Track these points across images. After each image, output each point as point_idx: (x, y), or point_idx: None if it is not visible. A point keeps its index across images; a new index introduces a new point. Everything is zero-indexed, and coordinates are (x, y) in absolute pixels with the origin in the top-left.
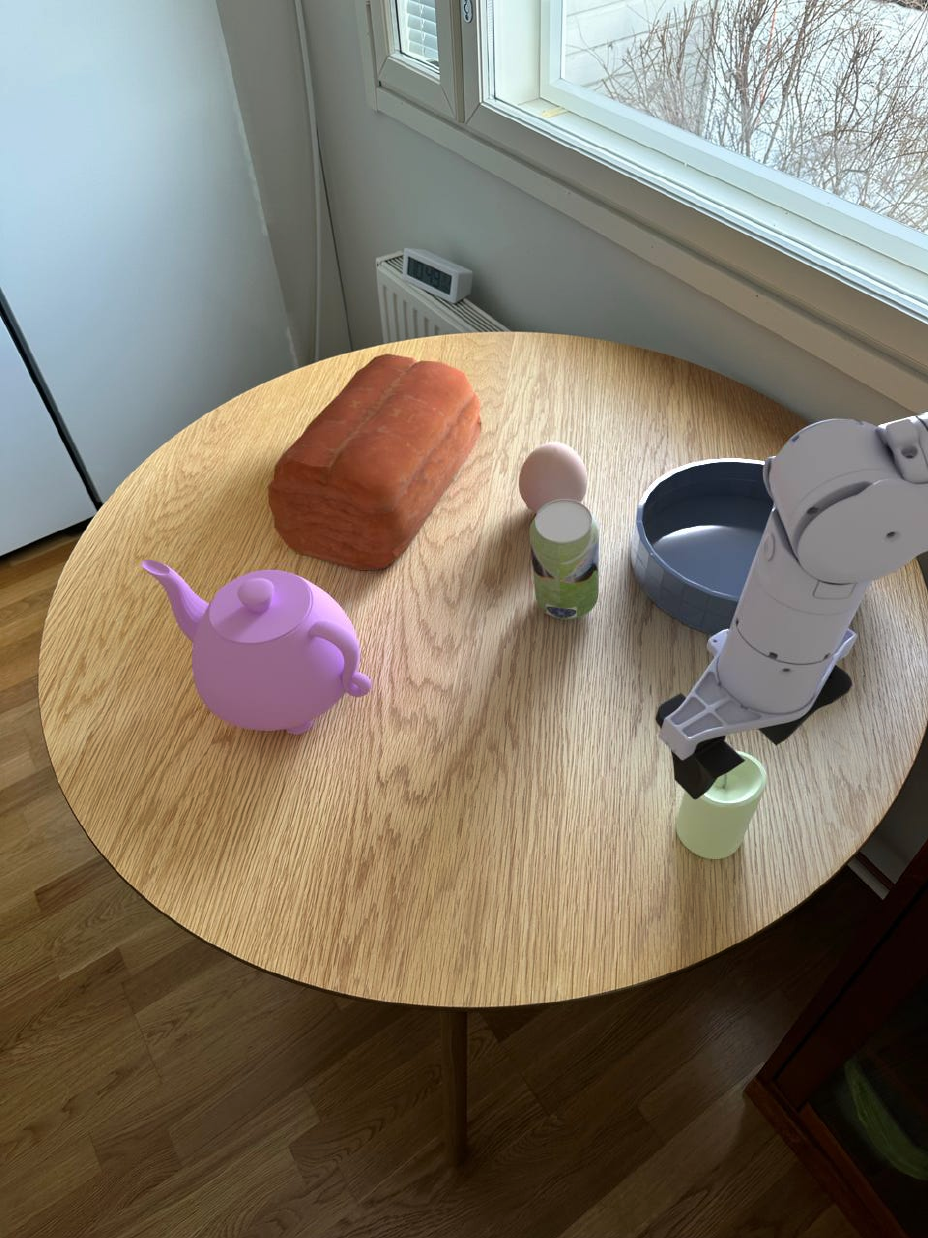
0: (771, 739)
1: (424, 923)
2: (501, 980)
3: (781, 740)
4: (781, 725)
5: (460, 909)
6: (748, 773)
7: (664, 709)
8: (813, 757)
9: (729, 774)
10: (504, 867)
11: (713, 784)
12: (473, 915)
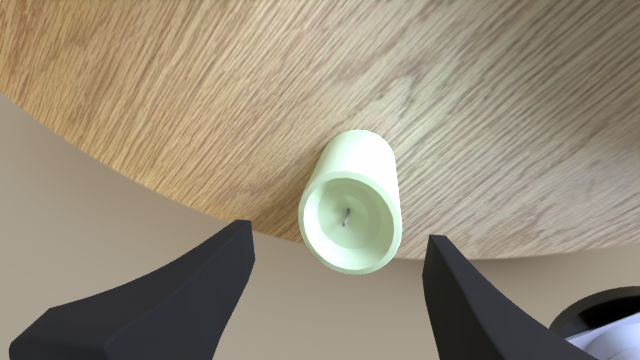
0: (424, 268)
1: (49, 63)
2: (104, 150)
3: (424, 294)
4: (434, 308)
5: (86, 73)
6: (378, 234)
7: (30, 351)
8: (544, 178)
9: (364, 210)
10: (141, 61)
11: (338, 201)
12: (96, 86)
